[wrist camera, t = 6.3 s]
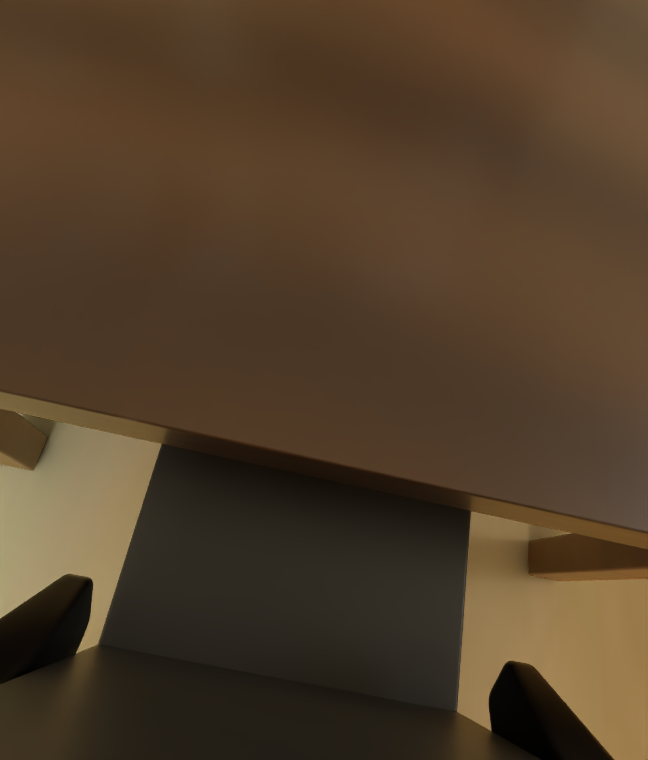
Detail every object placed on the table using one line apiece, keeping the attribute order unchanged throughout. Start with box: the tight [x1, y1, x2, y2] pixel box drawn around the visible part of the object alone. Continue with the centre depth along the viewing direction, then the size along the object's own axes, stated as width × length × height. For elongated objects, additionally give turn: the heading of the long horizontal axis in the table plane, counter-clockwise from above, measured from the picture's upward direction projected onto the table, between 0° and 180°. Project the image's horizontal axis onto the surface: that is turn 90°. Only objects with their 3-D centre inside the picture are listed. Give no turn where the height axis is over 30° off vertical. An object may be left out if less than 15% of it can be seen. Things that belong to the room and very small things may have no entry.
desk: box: [0, 0, 648, 581], centre depth 16 cm, size 16×20×10 cm
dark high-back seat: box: [0, 444, 541, 760], centre depth 10 cm, size 7×7×15 cm
